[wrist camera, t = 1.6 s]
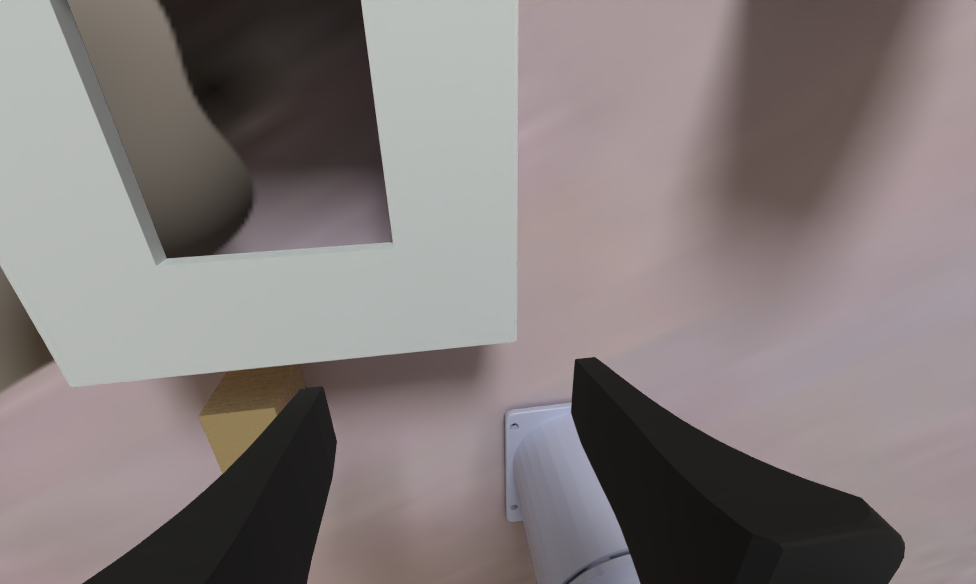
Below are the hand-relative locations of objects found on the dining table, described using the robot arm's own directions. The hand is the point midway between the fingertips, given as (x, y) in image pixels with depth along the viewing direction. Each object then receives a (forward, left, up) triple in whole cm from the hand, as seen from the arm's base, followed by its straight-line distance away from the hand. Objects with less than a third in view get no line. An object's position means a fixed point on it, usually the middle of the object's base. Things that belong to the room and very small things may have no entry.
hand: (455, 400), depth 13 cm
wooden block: (-6, +9, -10) cm, 14 cm away
